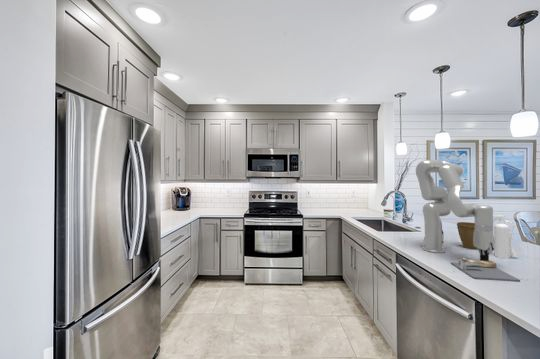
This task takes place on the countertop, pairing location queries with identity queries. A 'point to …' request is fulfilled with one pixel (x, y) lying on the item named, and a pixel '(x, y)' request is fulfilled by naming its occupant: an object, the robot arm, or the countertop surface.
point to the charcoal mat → (486, 273)
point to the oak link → (485, 263)
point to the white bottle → (503, 238)
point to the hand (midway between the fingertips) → (484, 261)
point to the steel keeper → (463, 264)
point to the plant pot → (466, 234)
